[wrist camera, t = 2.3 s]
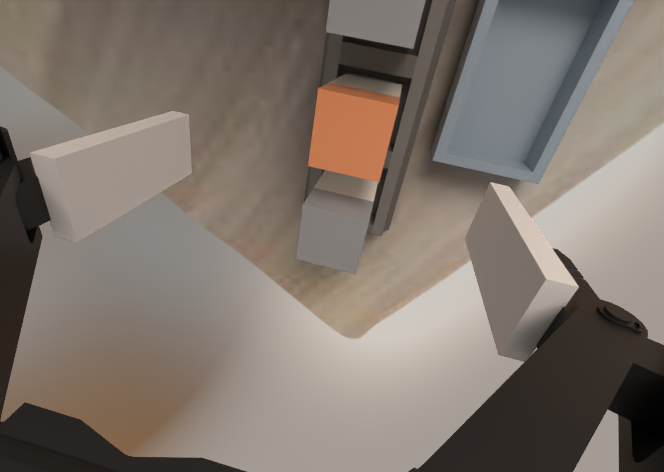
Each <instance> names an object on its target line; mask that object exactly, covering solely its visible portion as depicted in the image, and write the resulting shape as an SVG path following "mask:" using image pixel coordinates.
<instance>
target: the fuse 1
mask: <svg viewBox="0 0 664 472" xmlns="http://www.w3.org/2000/svg"><path fill="white" fill-rule="evenodd" d="M425 1H426V0H330V2H329V10H328V17H327V25H326V32H329V33H334V34H339V35H344V36H349V37H354V38H359V39H365V40H370V41H375V42H380V43H385V44H390V45H395V46H400V47H405V48H411V49H413V48H414V44H415V40H416V36H417V32H418V28H419V24H420V20H421V16H422V12H423V9H424V5H425Z"/></svg>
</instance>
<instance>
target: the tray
mask: <svg viewBox="0 0 664 472" xmlns="http://www.w3.org/2000/svg"><path fill="white" fill-rule="evenodd" d="M633 2H634V0H479V2H478V5H477V8H476V11H475V14H474V17H473V21H472V24H471V27H470V30H469V33H468V36H467V39H466V42H465V45H464V48H463V52H462V55H461V58H460V61H459V64H458V67H457V70H456V73H455V76H454V79H453V82H452V86H451V89H450V92H449V95H448V98H447V101H446V104H445V107H444V110H443V113H442V116H441V120H440V123H439V126H438V129H437V132H436V135H435V138H434V141H433V144H432V147H431V155H432V160H433V161H437V162H441V163H446V164H450V165H455V166H459V167H464V168H468V169H473V170H477V171H482V172H486V173H491V174H495V175H500V176H504V177H509V178H513V179H518V180H522V181H527V182H532V183H536V184H539V182H540V180H541V178H542V176H543V174H544V172H545V170H546V168H547V166H548V164H549V162H550V161H551V159H552V157H553V155H554V153H555V151H556V149H557V147H558V145H559V143H560V141H561V140H562V138H563V136H564V134H565V132H566V130H567V128H568V126H569V124H570V122H571V120H572V118H573V117H574V115H575V113H576V111H577V109H578V107H579V105H580V103H581V101H582V99H583V97H584V96H585V94H586V92H587V90H588V88H589V86H590V84H591V82H592V80H593V78H594V76H595V74H596V73H597V71H598V69H599V67H600V65H601V63H602V61H603V59H604V57H605V55H606V53H607V52H608V50H609V48H610V46H611V44H612V42H613V40H614V38H615V36H616V34H617V32H618V31H619V29H620V27H621V25H622V23H623V21H624V19H625V17H626V15H627V13H628V11H629V9H630V8H631V6H632V4H633Z"/></svg>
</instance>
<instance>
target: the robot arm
mask: <svg viewBox="0 0 664 472" xmlns="http://www.w3.org/2000/svg"><path fill="white" fill-rule="evenodd" d="M29 154H30V158H26V159H23V160H20V161H17V158H16V155H15V152H14V149H13V145H12V143H11V139H10V136H9V133H8V130H7V129H6V128H3V127H0V419H1V414H2V409H3V405H4V400H5V396H6V392H7V388H8V383H9V379H10V375H11V370H12V366H13V362H14V357H15V353H16V348H17V344H18V340H19V336H20V331H21V327H22V323H23V318H24V314H25V310H26V305H27V301H28V297H29V292H30V288H31V284H32V279H33V275H34V271H35V266H36V262H37V258H38V253H39V249H40V245H41V240H42V234H41V230H40V228H39V225H41V224H43V223H45V222H47V221H49V220H50V222H51V225H52V229H53V232H54V235H55V237H57V238H61V239H64V240H68V241H72V242H76V243H78V242H79V241H81V240H83V239H84V238H86V237H87V236H89V235H91V234H93V233H94V232H96V231H97V230H99V229H101V228H102V227H104V226H106V225H107V224H109V223H110V222H112V221H114V220H115V219H117V218H119V217H121V216H122V215H124V214H126V213H127V212H129V211H131V210H132V209H134V208H136V207H137V206H139V205H141V204H142V203H144V202H145V201H147V200H149V199H150V198H152V197H154V196H155V195H157V194H159V193H160V192H162V191H164V190H165V189H167V188H169V187H170V186H172V185H174V184H175V183H177V182H179V181H180V180H182V179H184V178H185V177H187V176H188V175H190V174H192V163H191V144H190V125H189V114H184V113H180V112H175V111H171V112H167V113H164V114H160V115H157V116H153V117H150V118H147V119H143V120H140V121H136V122H133V123H129V124H126V125H122V126H119V127H116V128H112V129H109V130H105V131H102V132H98V133H95V134H91V135H88V136H85V137H81V138H78V139H74V140H71V141H68V142H64V143H61V144H57V145H54V146H50V147H47V148H43V149H40V150H36V151H33V152H30V153H29ZM465 240H466V243H467V247H468V250H469V254H470V257H471V261H472V264H473V268H474V271H475V275H476V278H477V282H478V285H479V289H480V292H481V296H482V299H483V302H484V306H485V309H486V313H487V317H488V320H489V324H490V327H491V331H492V334H493V338H494V341H495V344H496V348H497V351H498V355H501V356H505V357H509V358H512V359H516V360H520V361H524V363H523V364H522V365H521V366H520V367H519V368H518V370H516V371H515V372H514V373H513V374H512V375H511V376H510V377H509V379H507V380H506V381H505V382H504V383H503V384H502V386H501V387H500V388H499V389H498V390H497V391H496V392H495V393H494V394H493V395H492V396H491V397H490V398H489V399H488V400H487V401H486V402H485V403H484V404H483V405H482V406H481V407H480V408H479V409H478V410H477V411H476V412H475V413H474V414H473V415H472V416H471V417H470V418H469V419H468V420H467V421H466V422H465V423H464V424H463V425H462V426H461V427H460V428H459V429H458V430H457V431H456V432H455V433H454V434H453V435H452V436H451V437H450V438H449V439H448V440H447V441H446V442H445V443H444V444H443V445H442V446H441V447H440V448H439V449H438V450H437V451H436V452H435V453H434V455H432V456H431V457H430V458H429V459H428V460H427V461H426V462H425V463H424V464H423V465H422V466H421V467H420V468H418V469H416V468H413V469H411V470H410V471H409V472H573V471H574V469H575V467H576V465H577V463H578V462H579V460H580V458H581V456H582V454H583V453H584V451H585V449H586V447H587V445H588V443H589V442H590V440H591V438H592V436H593V434H594V433H595V431H596V429H597V427H598V425H599V424H600V422H601V420H602V418H603V416H604V415H605V413H606V411H607V409H608V410H610V411H612V412H614V413H616V414H618V416H619V472H664V345H662V344H660V343H657V342H655V341H653V340H650V339H648V338H647V337H648V331H647V329H646V328H645V326H644V325H643V323H642V322H641V321H639V320H638V319H637V318H636V317H635V316H634V315H632V314H631V313H629V312H628V311H626V310H624V309H623V308H621V307H619V306H617V305H615V304H612V303H610V302H607V301H603V300H600V299H599V298H598V297H597V295H596V294H595V293H594V291H593V290H592V288H591V287H590V286H589V284H588V283H587V282H586V281H585V280H584V279H583V276H582V275H581V274H580V272H579V271H577V268H576V267H575V265H574V264H573V263H572V261H571V260H570V259H569V258H568V257H566V256H565V255H564V254H562V253H561V252H560V251H559V250H557V249H553V248H552V247H551V246H550V245H549V243H548V242H547V240H546V239H545V238H544V236H543V234H542V233H541V232H540V231H539V229H538V227H537V226H536V224H535V223H534V222H533V220H532V219H531V217H530V216H529V214H528V213H527V211H526V210H525V209H524V207H523V206H522V204H521V203H520V201H519V200H518V199H517V197H516V196H515V194H514V193H513V191H512V190H511V188H510V187H509V186H505V185H501V184H496V183H492V182H490V183H489V185H488V188H487V190H486V192H485V195H484V197H483V199H482V201H481V204H480V206H479V208H478V211H477V213H476V215H475V217H474V220H473V222H472V224H471V227H470V229H469V231H468V233H467V236H466V238H465ZM536 347H537V350H536V351H535V352H534V353H533V351H534V350H535V349H536ZM532 353H533V354H532ZM531 354H532V355H531ZM0 472H246V471H242V470H239V469H236V468H233V467H230V466H227V465H223V464H220V463H217V462H214V461H211V460H207V459H204V458H171V457H170V458H168V457H167V458H165V457H131V456H128V455H125V454H124V453H122V452H121V451H120V450H118V449H117V448H116V447H114V446H113V445H112V444H111V443H109V442H108V441H107V440H105V439H104V438H103V437H102V436H101V435H99V434H98V433H97V432H95V431H94V430H93V429H92V428H90V427H89V426H88V425H87V424H85V423H84V422H83V421H81V420H80V419H76V418H73V417H70V416H67V415H64V414H60V413H57V412H54V411H51V410H48V409H44V408H41V407H38V406H35V405H31V404H28V403H24V404H23V405H22V406H21V407H19V408H18V409H17V410H16V411H15V412H14V413H13V414H12V415H11V416H10V417H9V418H8V419H7V420H6V421H5V422H0Z"/></svg>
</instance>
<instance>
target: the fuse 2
mask: <svg viewBox="0 0 664 472" xmlns="http://www.w3.org/2000/svg"><path fill="white" fill-rule="evenodd" d="M377 184H378V182H376V181H371V180H367V179H362V178H358V177H354V176H349V175H345V174H341V173H336V172H332V171H328V170H325V171H324V173H323V174H322V176H321V177H320V179H319V180H318V182H317V183H316V185H315V187H314V188H313V190H312V191H311V193H310V194H309V196H308V197H307V199H306V201H305V202H304V204H303V208H302V215H301V223H300V230H299V238H298V246H297V253H296V259H297V260H301V261H305V262H309V263H313V264H317V265H320V266H324V267H328V268H332V269H336V270H340V271H344V272H348V273H352V274H356V272H357V268H358V264H359V260H360V256H361V252H362V248H363V244H364V240H365V236H366V232H367V228H368V225H369V221H370V216H371V212H372V207H373V202H374V198H375V193H376V189H377Z"/></svg>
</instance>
